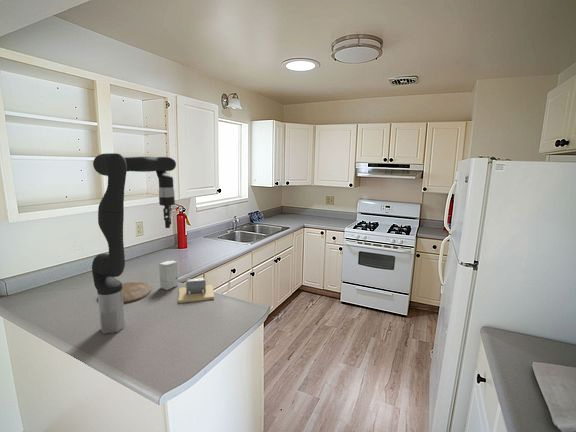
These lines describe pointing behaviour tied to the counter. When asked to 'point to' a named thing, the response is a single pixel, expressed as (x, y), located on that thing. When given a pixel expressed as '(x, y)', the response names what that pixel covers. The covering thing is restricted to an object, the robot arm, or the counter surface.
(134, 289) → the trivet
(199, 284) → the grey rectangular block
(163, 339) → the counter surface
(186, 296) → the yellow peg board
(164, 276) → the skincare box
